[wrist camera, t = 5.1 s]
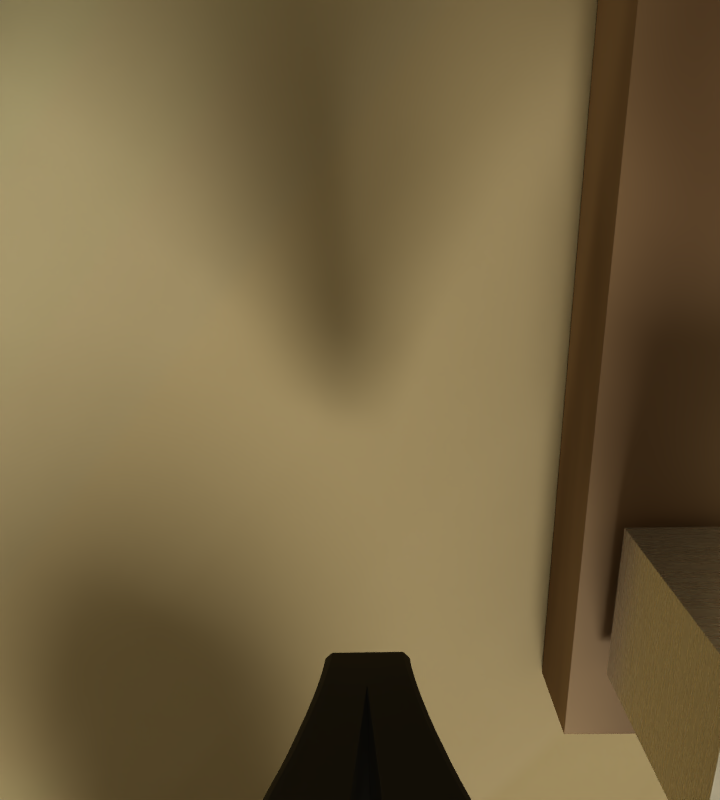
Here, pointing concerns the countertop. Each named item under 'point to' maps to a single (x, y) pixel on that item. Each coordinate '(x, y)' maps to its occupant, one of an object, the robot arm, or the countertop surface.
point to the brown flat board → (637, 331)
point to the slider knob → (671, 653)
